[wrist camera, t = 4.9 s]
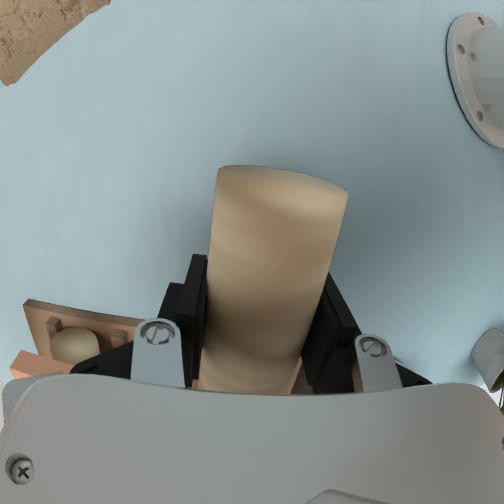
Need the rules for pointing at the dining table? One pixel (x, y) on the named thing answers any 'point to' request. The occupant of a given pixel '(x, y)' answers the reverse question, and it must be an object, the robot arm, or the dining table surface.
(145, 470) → the robot arm
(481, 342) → the house plant
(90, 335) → the under roller
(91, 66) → the dining table surface
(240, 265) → the roller
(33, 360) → the slab
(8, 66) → the clay tablet
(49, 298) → the dining table surface
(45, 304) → the track
